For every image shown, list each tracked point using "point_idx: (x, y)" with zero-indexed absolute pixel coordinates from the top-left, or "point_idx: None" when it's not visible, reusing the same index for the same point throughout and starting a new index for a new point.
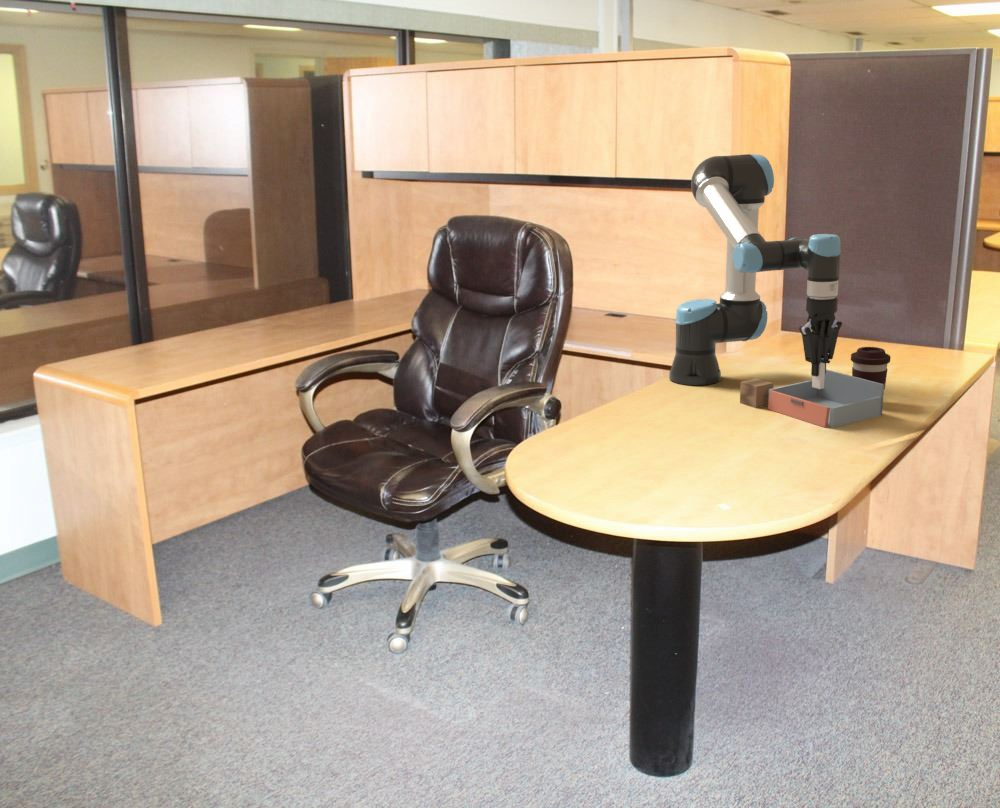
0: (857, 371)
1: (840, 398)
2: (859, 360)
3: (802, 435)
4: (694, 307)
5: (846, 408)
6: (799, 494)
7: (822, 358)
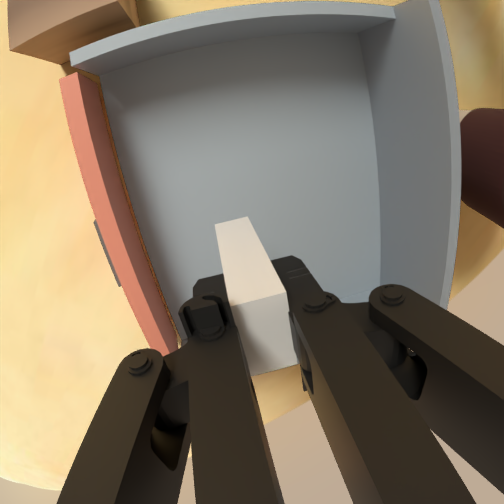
0: (501, 180)
1: (385, 145)
2: None
3: (94, 335)
4: None
5: None
6: (40, 472)
7: (309, 363)
